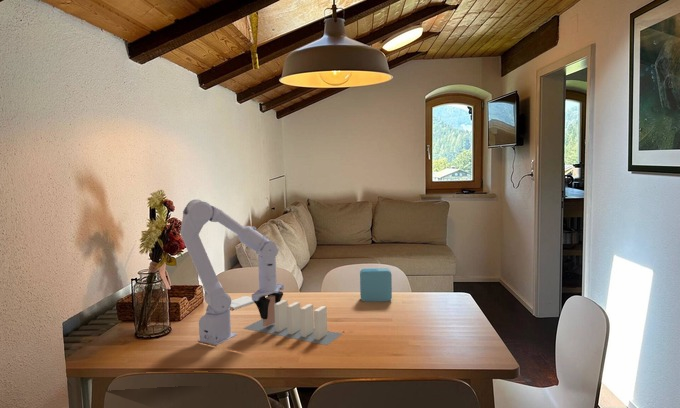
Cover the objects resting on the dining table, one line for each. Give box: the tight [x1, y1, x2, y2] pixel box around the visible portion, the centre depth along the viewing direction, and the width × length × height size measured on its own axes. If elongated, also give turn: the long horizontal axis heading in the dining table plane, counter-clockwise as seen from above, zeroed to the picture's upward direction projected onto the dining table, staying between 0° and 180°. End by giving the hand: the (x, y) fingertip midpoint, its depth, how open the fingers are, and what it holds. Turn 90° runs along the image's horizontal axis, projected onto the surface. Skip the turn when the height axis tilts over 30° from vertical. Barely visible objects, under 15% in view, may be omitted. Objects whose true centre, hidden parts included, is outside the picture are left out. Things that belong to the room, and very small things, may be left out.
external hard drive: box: [230, 295, 255, 310], centre depth 184 cm, size 2×8×12 cm
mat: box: [243, 318, 343, 346], centre depth 152 cm, size 10×32×1 cm, turn 61°
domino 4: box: [300, 303, 314, 337], centre depth 149 cm, size 5×2×9 cm, turn 151°
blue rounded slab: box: [359, 268, 393, 303], centre depth 184 cm, size 12×4×12 cm, turn 89°
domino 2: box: [274, 299, 288, 332], centre depth 154 cm, size 5×2×9 cm, turn 151°
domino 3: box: [287, 301, 301, 334], centre depth 151 cm, size 5×2×9 cm, turn 151°
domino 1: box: [263, 295, 275, 327], centre depth 156 cm, size 5×2×9 cm, turn 151°
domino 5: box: [313, 305, 328, 340], centre depth 147 cm, size 5×2×9 cm, turn 151°
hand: (269, 316), depth 156 cm, fingers closed on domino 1, 5 cm apart
